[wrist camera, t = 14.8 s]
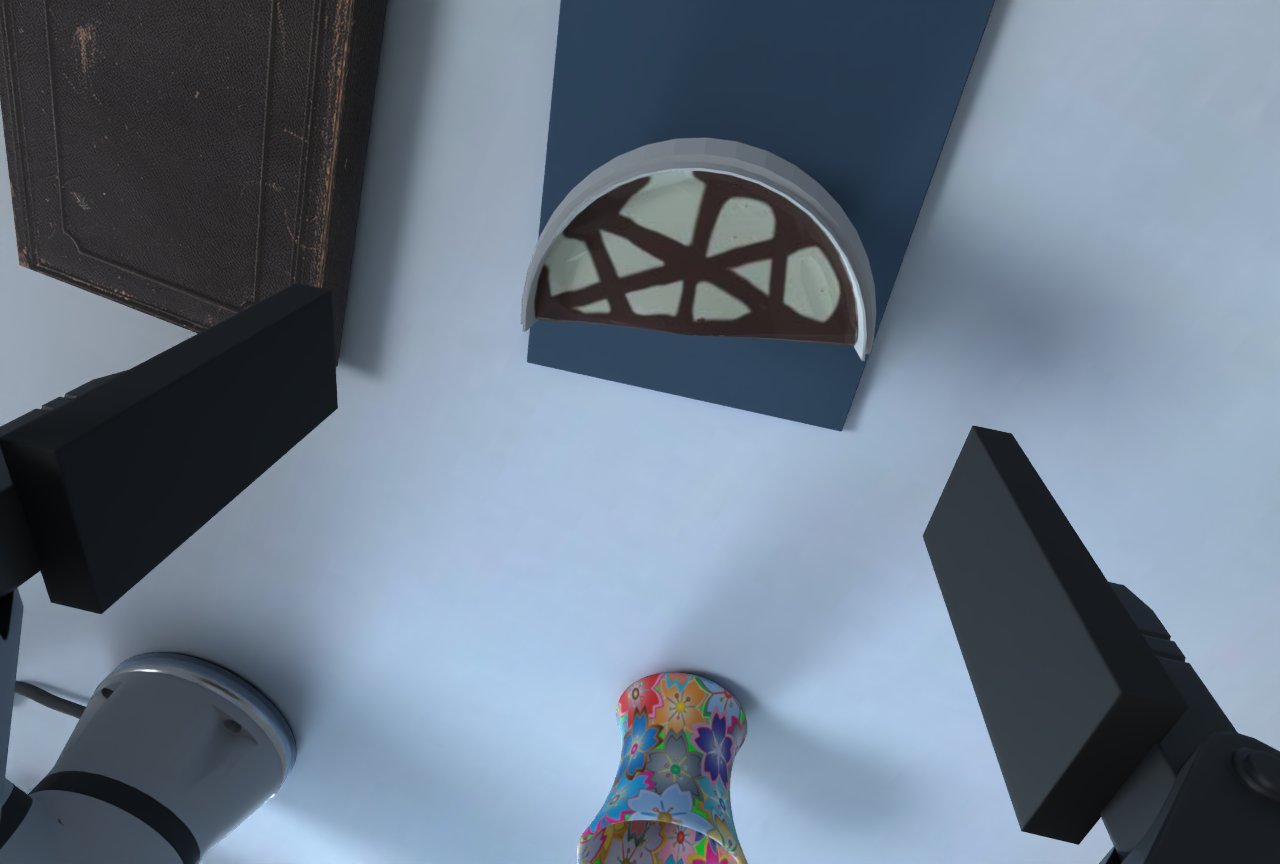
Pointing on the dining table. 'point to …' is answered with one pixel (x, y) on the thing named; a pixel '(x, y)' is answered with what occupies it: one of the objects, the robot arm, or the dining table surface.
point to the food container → (704, 250)
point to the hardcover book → (189, 147)
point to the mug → (671, 777)
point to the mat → (766, 119)
